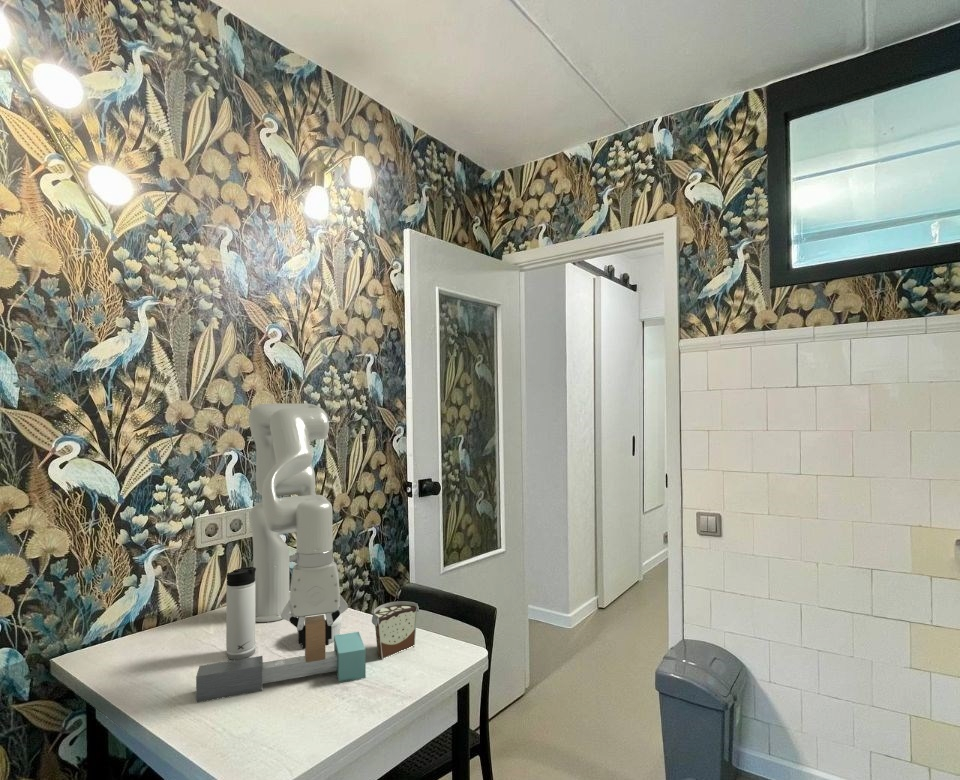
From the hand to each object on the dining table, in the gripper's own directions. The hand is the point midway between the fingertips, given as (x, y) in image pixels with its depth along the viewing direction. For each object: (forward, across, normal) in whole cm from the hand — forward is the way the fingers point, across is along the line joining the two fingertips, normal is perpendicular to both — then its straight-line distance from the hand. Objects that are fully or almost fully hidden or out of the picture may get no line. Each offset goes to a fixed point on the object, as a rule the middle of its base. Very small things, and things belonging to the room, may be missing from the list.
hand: (315, 643), depth 118 cm
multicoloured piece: (+6, -3, 0) cm, 7 cm away
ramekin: (+7, +2, +20) cm, 21 cm away
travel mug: (+7, -16, +18) cm, 24 cm away
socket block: (+7, +7, 0) cm, 10 cm away
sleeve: (+7, -17, 0) cm, 18 cm away
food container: (+7, +18, +7) cm, 20 cm away
